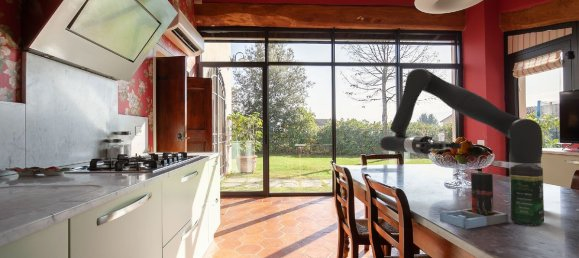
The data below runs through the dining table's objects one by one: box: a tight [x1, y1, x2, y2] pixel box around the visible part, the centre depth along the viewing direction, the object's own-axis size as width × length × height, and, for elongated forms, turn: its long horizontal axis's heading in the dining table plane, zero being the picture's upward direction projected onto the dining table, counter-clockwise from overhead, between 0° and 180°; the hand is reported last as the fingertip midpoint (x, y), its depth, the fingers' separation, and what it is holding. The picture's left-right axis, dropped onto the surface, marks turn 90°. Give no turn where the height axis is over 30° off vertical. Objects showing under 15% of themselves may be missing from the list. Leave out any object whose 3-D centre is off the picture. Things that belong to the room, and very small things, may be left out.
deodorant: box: [470, 172, 495, 216], centre depth 97 cm, size 6×6×15 cm
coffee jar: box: [509, 163, 545, 227], centre depth 94 cm, size 10×8×19 cm
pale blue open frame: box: [439, 208, 509, 230], centre depth 96 cm, size 18×10×3 cm, turn 110°
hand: (451, 146), depth 108 cm, fingers open, 8 cm apart
